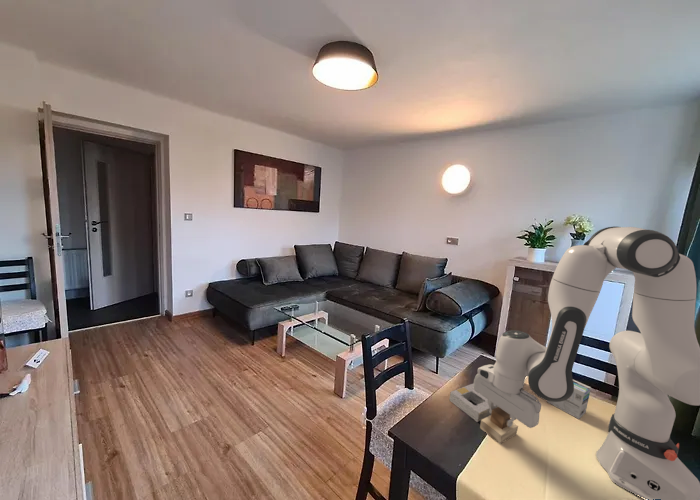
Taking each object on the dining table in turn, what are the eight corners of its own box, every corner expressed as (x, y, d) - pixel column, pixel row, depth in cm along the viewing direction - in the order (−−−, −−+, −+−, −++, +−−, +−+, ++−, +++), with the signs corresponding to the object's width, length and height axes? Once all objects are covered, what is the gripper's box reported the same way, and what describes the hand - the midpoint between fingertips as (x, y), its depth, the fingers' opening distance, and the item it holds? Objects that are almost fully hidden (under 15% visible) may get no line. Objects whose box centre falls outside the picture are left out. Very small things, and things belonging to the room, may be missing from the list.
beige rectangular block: (516, 434, 94) (518, 426, 93) (499, 443, 89) (501, 435, 89) (496, 419, 100) (497, 411, 99) (479, 427, 95) (481, 419, 95)
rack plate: (507, 408, 106) (508, 399, 106) (477, 422, 98) (479, 412, 97) (478, 388, 116) (479, 380, 116) (449, 400, 108) (450, 391, 107)
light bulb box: (585, 413, 107) (592, 387, 105) (579, 420, 103) (585, 392, 101) (553, 396, 115) (558, 371, 114) (545, 402, 112) (551, 376, 110)
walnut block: (509, 425, 93) (511, 414, 93) (501, 429, 91) (503, 417, 91) (497, 416, 97) (499, 406, 96) (490, 420, 95) (492, 409, 94)
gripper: (548, 397, 84) (539, 439, 87) (485, 362, 102) (479, 397, 104) (536, 403, 81) (527, 447, 83) (473, 365, 98) (467, 402, 101)
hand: (500, 419), depth 94 cm, fingers closed on walnut block, 4 cm apart
